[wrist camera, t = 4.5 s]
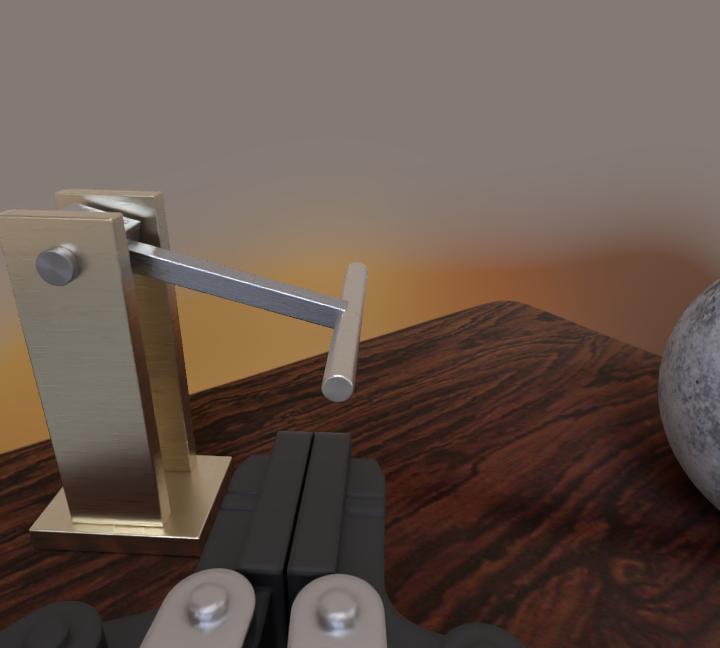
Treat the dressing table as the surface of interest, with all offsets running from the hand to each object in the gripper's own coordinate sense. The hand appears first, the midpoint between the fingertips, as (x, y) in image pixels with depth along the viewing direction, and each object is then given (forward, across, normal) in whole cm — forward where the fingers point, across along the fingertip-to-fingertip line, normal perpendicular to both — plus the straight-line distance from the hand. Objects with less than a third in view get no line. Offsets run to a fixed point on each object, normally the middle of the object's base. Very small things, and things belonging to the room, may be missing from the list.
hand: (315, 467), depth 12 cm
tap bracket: (+12, +11, +13) cm, 21 cm away
